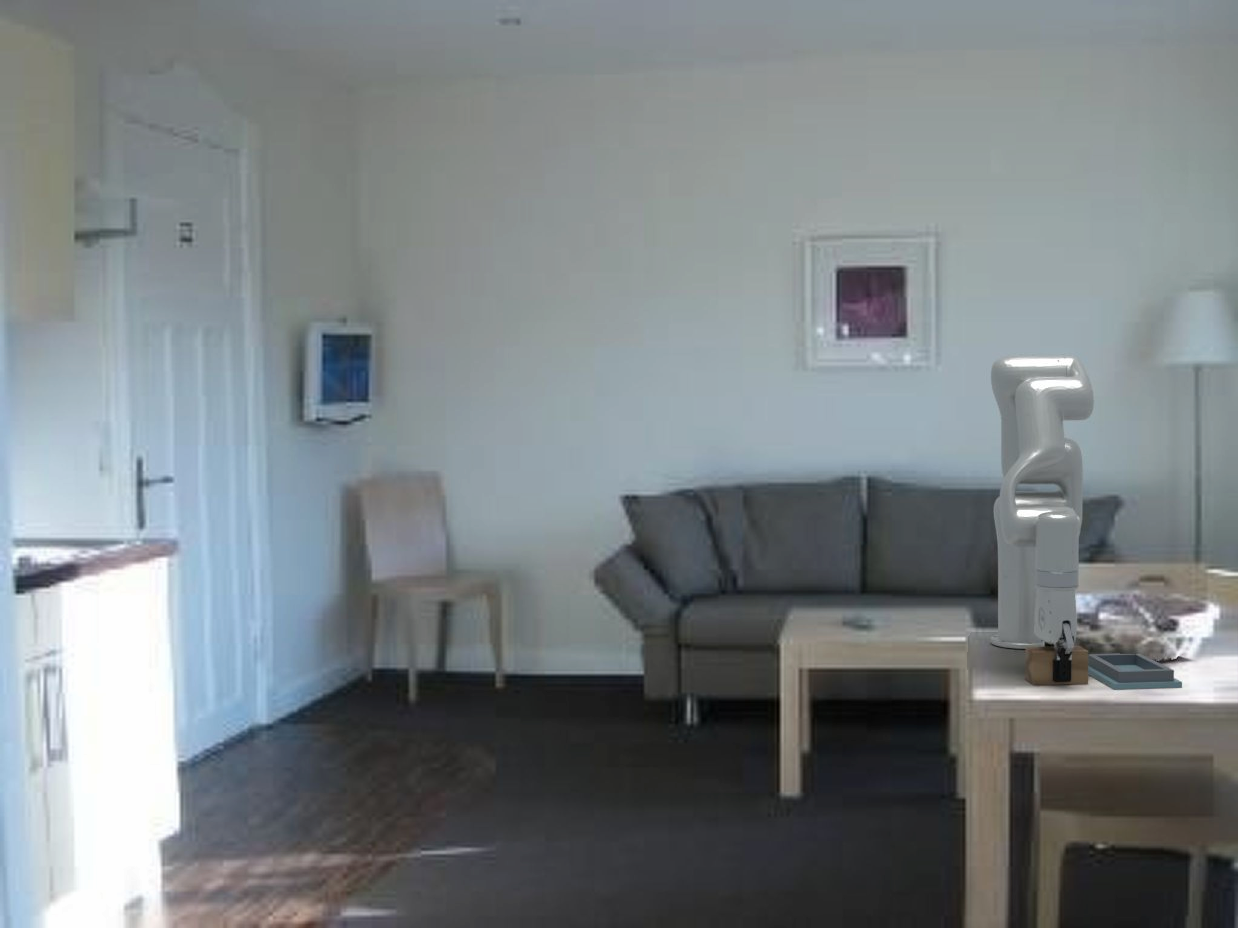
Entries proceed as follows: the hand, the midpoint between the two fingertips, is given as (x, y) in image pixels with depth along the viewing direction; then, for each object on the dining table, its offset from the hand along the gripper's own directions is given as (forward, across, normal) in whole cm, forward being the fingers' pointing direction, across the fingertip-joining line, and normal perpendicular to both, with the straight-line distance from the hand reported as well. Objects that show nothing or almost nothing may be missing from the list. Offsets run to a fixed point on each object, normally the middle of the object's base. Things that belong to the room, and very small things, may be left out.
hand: (1056, 676), depth 274 cm
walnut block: (+1, 0, 0) cm, 1 cm away
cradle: (+1, -1, +14) cm, 14 cm away
